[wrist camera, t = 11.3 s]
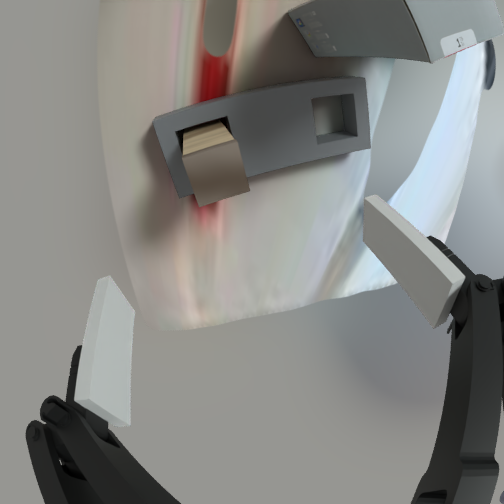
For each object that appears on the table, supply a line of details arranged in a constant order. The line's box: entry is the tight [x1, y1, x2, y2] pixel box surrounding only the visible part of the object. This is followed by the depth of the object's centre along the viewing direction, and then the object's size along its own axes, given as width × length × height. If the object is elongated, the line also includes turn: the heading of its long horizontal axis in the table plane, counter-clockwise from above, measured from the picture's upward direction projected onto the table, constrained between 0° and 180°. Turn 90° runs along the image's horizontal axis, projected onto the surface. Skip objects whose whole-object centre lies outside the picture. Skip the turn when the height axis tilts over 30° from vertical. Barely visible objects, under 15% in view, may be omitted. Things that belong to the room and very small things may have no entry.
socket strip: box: [152, 76, 371, 198], centre depth 32 cm, size 10×26×4 cm, turn 102°
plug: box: [182, 119, 250, 207], centre depth 28 cm, size 5×5×13 cm
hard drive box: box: [288, 0, 504, 63], centre depth 18 cm, size 16×8×20 cm, turn 122°
